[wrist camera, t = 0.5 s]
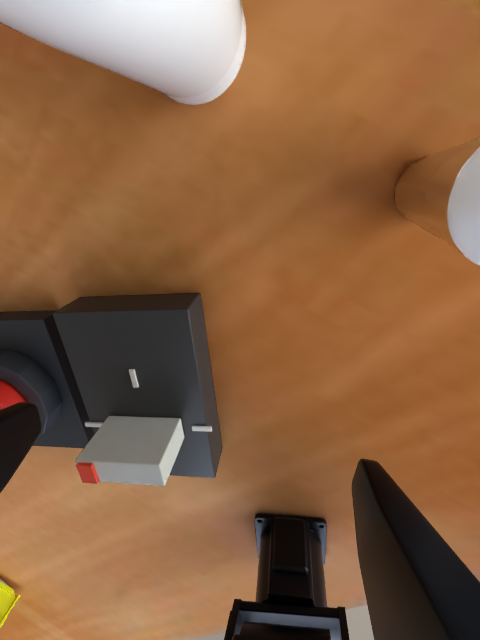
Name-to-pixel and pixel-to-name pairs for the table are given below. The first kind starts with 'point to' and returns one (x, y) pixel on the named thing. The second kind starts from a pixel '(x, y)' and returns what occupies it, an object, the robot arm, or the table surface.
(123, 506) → the table surface
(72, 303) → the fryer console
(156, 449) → the grey block red tip
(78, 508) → the table surface
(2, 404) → the power button
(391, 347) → the table surface
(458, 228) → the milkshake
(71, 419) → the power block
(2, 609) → the yellow toy chassis
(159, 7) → the drinking glass
